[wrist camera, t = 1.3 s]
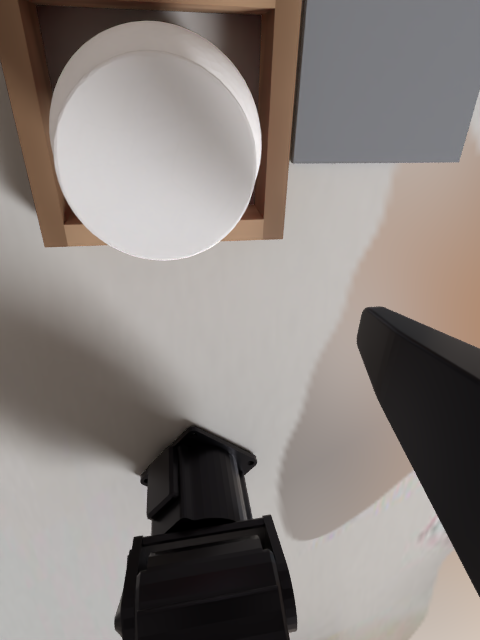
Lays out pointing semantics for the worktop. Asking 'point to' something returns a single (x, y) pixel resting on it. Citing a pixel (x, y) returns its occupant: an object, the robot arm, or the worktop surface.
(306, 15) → the mat
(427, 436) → the robot arm
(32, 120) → the rack
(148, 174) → the pill bottle
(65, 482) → the worktop surface
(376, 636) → the worktop surface
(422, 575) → the worktop surface
